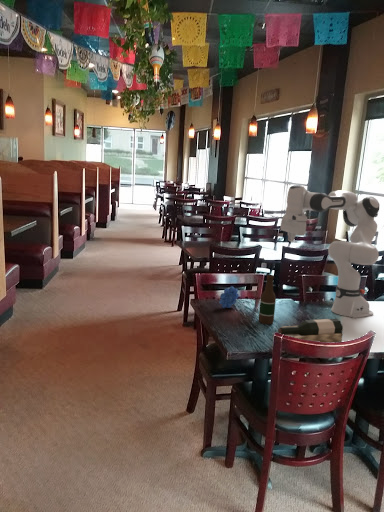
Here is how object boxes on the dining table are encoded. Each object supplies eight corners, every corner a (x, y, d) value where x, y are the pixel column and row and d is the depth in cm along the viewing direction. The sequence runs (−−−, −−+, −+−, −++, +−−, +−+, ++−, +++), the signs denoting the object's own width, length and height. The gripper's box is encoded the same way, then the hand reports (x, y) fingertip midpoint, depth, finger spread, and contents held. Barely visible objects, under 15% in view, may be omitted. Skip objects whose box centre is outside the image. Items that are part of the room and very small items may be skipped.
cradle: (324, 331, 202) (325, 324, 202) (341, 341, 190) (342, 334, 190) (279, 334, 195) (280, 326, 195) (294, 345, 183) (295, 337, 183)
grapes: (233, 304, 235) (235, 283, 232) (239, 308, 229) (241, 287, 226) (215, 306, 230) (216, 285, 227) (221, 310, 224) (222, 288, 221)
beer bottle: (275, 325, 207) (280, 277, 202) (259, 324, 206) (264, 277, 201) (271, 319, 214) (276, 273, 209) (256, 319, 213) (260, 273, 209)
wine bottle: (343, 336, 191) (284, 341, 182) (332, 336, 199) (275, 340, 190) (341, 318, 192) (283, 321, 183) (330, 318, 200) (273, 322, 191)
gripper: (278, 213, 235) (276, 237, 237) (298, 218, 216) (295, 244, 218) (288, 213, 237) (286, 238, 239) (309, 218, 218) (306, 244, 220)
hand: (291, 241), depth 229 cm, fingers closed
